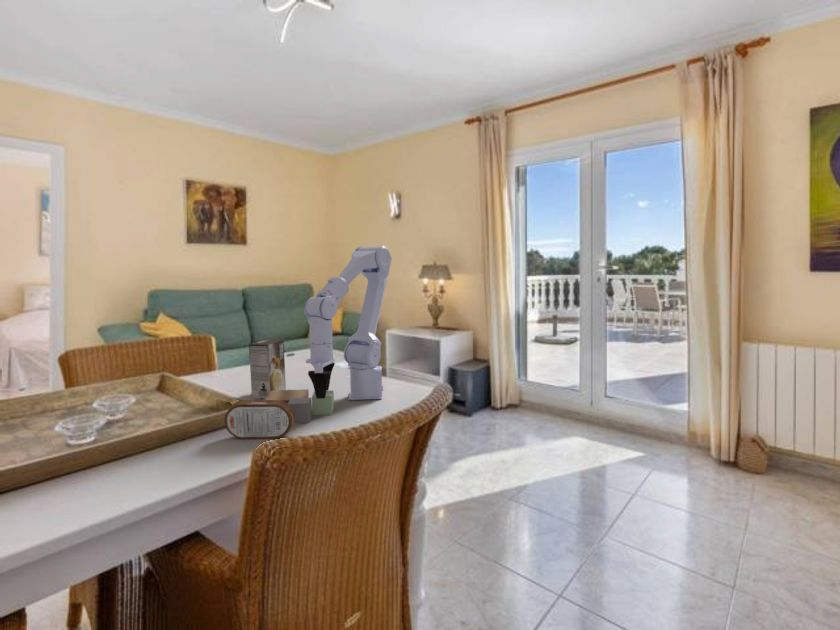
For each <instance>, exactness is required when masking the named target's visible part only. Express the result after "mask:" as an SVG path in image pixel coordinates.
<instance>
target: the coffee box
mask: <svg viewBox="0 0 840 630" xmlns="http://www.w3.org/2000/svg"><path fill="white" fill-rule="evenodd" d="M284 341H285V340H284V339H276V338H275V339H274V338H273V339H271V338H269V339H267V338H265V339H262V340H258V341H255V342H252V343H248V347H249V349H248V351H249V367H250V369H249V371H250V385H251V386H250V387H251V399H261V398H263V399H262V400H265V399H266V398H267V396H268V395H269V394H270V392H271V391H276V390H287V387H286V386H287V385H286V383H287V382H286V367H285V366H286V364H285V363H286V361H285V343H284Z"/></svg>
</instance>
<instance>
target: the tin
mask: <svg viewBox="0 0 840 630" xmlns="http://www.w3.org/2000/svg"><path fill="white" fill-rule="evenodd" d="M294 422H295V415H294V412H293V410H292V408H291V407H290V406H289V405H288V404H287V403H285V402H283V401H280V400H265V399H242V400H237V401H236V402H234V403H233V404H232V405H231V406H230V407H229V409H228V410H227V411H226V413H225V415H224V425H225V429H226V431H228V433H229V434H230V435H231V436H232V437H235V438H237V439H240V440H241V439H242V440H243V439H244V440H247V439H248V440H250V439H251V440H255V439H256V440H257V439H263V440H265V439H268V440H270V439H273V440H274V439H279V438H280V439H281V438H282V437H283V438H284V436H286V435H287V434H288V433H289V432H290V430H292V428H293V426H294Z"/></svg>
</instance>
